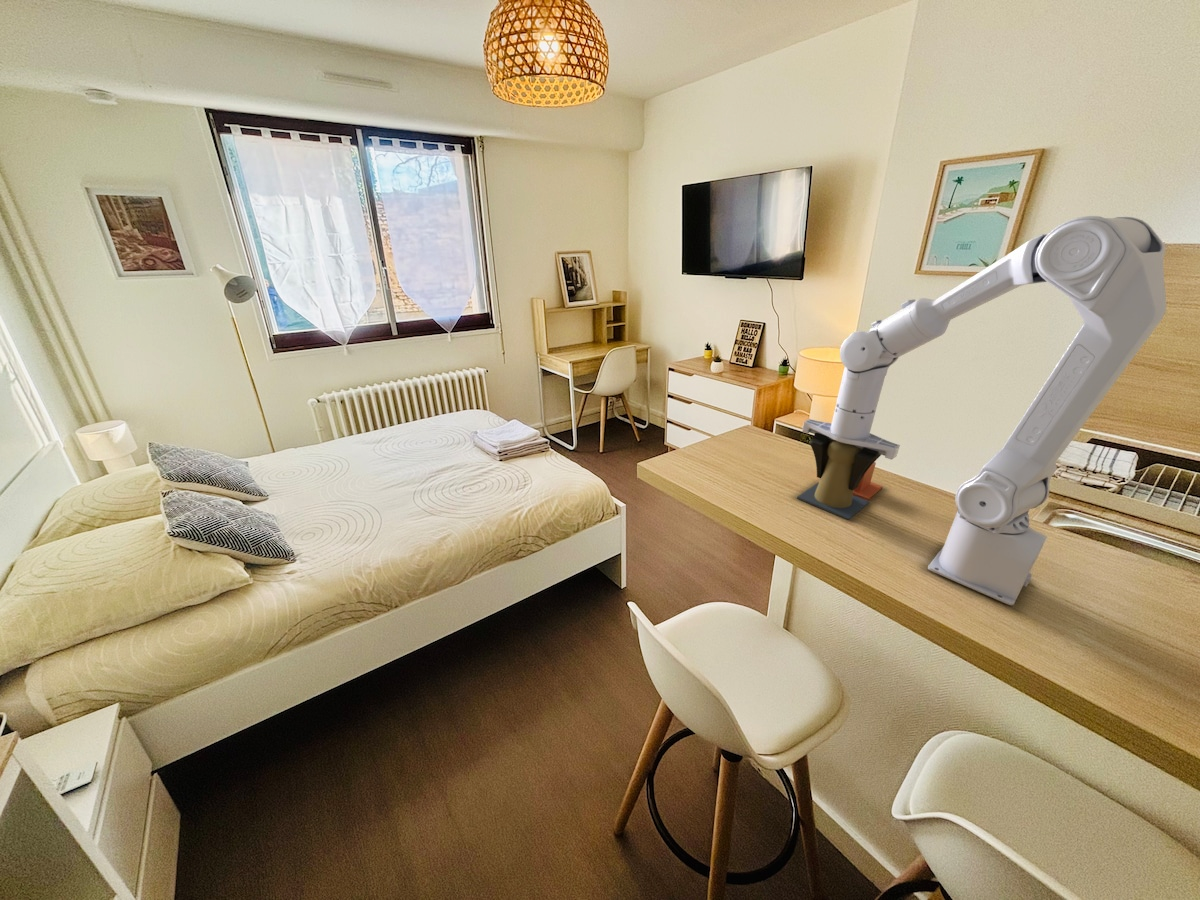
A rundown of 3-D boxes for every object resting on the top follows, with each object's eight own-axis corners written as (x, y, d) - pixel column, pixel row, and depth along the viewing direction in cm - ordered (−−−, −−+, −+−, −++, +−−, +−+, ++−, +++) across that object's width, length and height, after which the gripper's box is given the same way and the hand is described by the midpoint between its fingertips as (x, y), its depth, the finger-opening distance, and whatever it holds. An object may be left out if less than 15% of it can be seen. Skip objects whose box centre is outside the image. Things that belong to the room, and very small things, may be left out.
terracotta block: (869, 484, 86) (876, 462, 84) (859, 492, 83) (865, 470, 81) (845, 475, 89) (850, 454, 87) (834, 483, 86) (839, 461, 84)
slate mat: (868, 503, 81) (869, 501, 81) (848, 520, 76) (849, 518, 76) (818, 483, 87) (818, 481, 87) (796, 498, 82) (797, 496, 82)
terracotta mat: (882, 488, 85) (882, 486, 85) (867, 500, 82) (868, 498, 81) (838, 472, 91) (838, 470, 91) (822, 483, 87) (823, 481, 87)
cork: (847, 511, 78) (863, 452, 73) (810, 500, 81) (822, 442, 76) (855, 496, 82) (870, 439, 77) (819, 486, 85) (831, 431, 81)
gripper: (915, 413, 71) (891, 490, 77) (822, 391, 81) (807, 460, 87) (898, 425, 67) (874, 505, 73) (802, 400, 77) (788, 472, 83)
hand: (836, 481), depth 80 cm, fingers closed on cork, 5 cm apart
